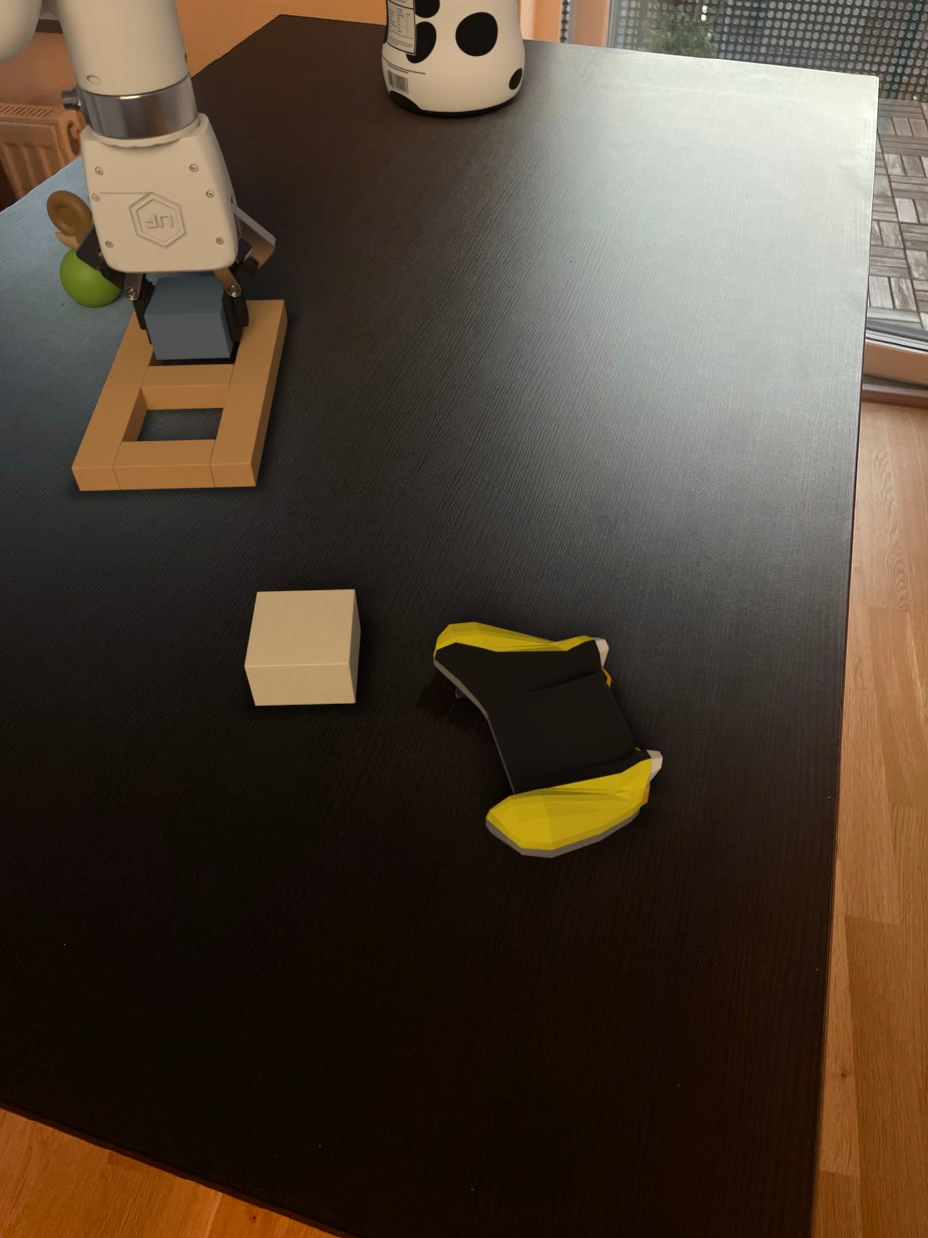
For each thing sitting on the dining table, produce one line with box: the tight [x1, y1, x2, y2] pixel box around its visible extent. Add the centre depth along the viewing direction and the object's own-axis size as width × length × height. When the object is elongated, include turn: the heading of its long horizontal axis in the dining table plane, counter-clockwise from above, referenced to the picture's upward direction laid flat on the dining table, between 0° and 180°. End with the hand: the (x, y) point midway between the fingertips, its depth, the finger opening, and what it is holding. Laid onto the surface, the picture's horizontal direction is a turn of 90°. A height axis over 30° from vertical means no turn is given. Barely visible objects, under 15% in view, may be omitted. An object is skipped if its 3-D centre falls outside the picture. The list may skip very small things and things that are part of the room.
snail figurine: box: [46, 189, 122, 308], centre depth 88 cm, size 5×6×12 cm
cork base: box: [71, 299, 288, 492], centre depth 81 cm, size 13×23×2 cm, turn 1°
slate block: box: [144, 275, 235, 361], centre depth 81 cm, size 6×6×4 cm
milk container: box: [381, 0, 526, 118], centre depth 118 cm, size 17×17×18 cm
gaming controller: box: [433, 621, 664, 859], centre depth 55 cm, size 15×6×10 cm
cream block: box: [244, 588, 361, 707], centre depth 60 cm, size 6×6×4 cm
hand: (197, 332), depth 82 cm, fingers closed on slate block, 6 cm apart
